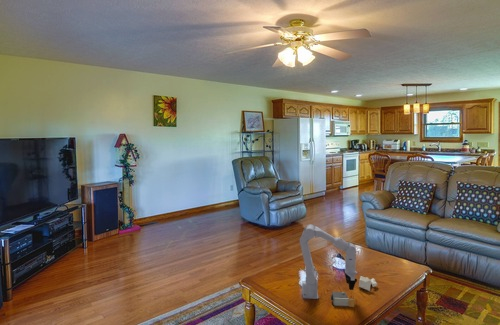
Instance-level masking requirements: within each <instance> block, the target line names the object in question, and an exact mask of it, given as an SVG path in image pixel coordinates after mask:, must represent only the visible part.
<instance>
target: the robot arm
mask: <svg viewBox="0 0 500 325" xmlns="http://www.w3.org/2000/svg"><path fill="white" fill-rule="evenodd" d="M313 238H315V239H317V238H322V239H324V240H326V241H328V242H330V243H331V244H333V246H334V247H335V248H337V249H339V250H340V251H343V252H345V259H344V262H345V263H344V264H345V265H344V270H343V273H344V277H345V282H346V284H347V285H348V289H349V290H350V291H353V290H354V289H355V285H356V284H357V281H358V278H356V274H358V271H356V254H357V249H356V247H357V246H356V245H355V244H353V243H352V242H349V241H348V242H347V241H346V240H344V239H343V237H339V236H336V237H334V236H333V235H331V234H330V233H328V232H326V231H324V230H323V229H321V228H320V227H318V226H316V225H314V224H311V223H309V224H307V225H306V226H305V227H304V229H303V231H302V234H301V236H300V238H299V246H300V249H301V252H302V258H303V262H304V266H305V275H306V276H305V280H302V281H301V283H302V284H301V286H302V287H301V288H302V289H301V294H302V299H310V300H311V299H313V300H319V299H320V298H319V294H318V292H319V291H318V284H319V283H318V282H319V281H318V280H317V276H318V271H317V269H316V268H315V265H314V261H313V258H312V254H311V253H312V252H311V250H310V249H311V248H310V244H309V241H310V240H312V239H313Z"/></svg>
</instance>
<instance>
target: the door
mask: <svg viewBox="0 0 500 325" xmlns="http://www.w3.org/2000/svg"><path fill="white" fill-rule="evenodd" d="M332 305H333V307H334V306H335V307H336V306H337V307H349V308H355V298H353V297H350V298H349V297H348V298H335V297H333V301H332Z"/></svg>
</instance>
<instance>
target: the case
mask: <svg viewBox="0 0 500 325" xmlns="http://www.w3.org/2000/svg"><path fill="white" fill-rule="evenodd" d="M333 297H335V298H349V297H348V294H347V292H346V291H332V292H331V294H330V300H331V302H333Z"/></svg>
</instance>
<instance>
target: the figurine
mask: <svg viewBox="0 0 500 325" xmlns="http://www.w3.org/2000/svg"><path fill="white" fill-rule="evenodd" d="M371 285H372V288H374V287H377V286H378V282H377V281H376V279H375V278H371V279H370V278H369V277H367V276H366V277H364V276H362V275H360V276H359V281H358V288H361V289H364V290H366V291H368V292H370V291H371Z"/></svg>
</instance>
